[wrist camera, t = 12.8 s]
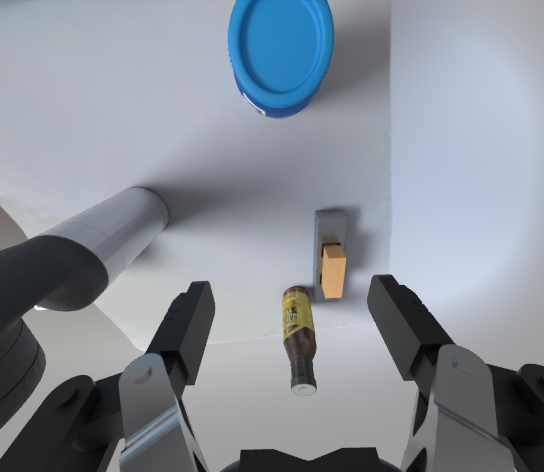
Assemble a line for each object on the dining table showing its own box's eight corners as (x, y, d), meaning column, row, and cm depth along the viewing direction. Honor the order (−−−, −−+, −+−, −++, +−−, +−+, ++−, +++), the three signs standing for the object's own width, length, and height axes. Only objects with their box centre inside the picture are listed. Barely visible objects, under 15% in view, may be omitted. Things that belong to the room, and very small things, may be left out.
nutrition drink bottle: (292, 29, 28) (321, -111, 10) (316, 98, 31) (367, 80, 14) (236, 66, 30) (182, 1, 12) (265, 127, 33) (254, 143, 16)
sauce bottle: (290, 281, 49) (298, 374, 32) (313, 291, 50) (334, 384, 33) (276, 300, 52) (277, 394, 34) (299, 308, 53) (311, 403, 36)
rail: (312, 290, 50) (314, 302, 47) (315, 211, 40) (318, 219, 37) (334, 289, 50) (338, 301, 47) (342, 209, 40) (348, 217, 37)
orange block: (318, 273, 47) (325, 298, 41) (320, 237, 43) (328, 258, 36) (332, 273, 47) (341, 297, 41) (336, 236, 42) (346, 257, 36)
